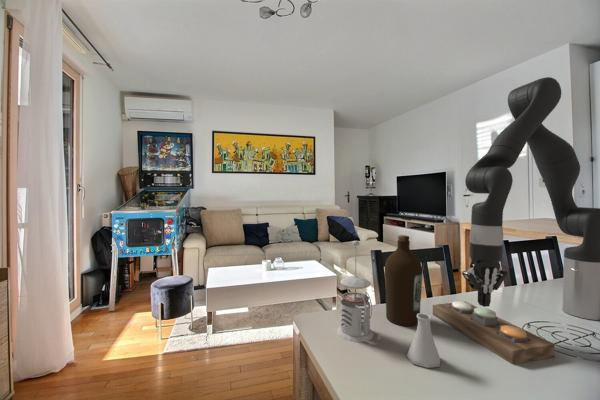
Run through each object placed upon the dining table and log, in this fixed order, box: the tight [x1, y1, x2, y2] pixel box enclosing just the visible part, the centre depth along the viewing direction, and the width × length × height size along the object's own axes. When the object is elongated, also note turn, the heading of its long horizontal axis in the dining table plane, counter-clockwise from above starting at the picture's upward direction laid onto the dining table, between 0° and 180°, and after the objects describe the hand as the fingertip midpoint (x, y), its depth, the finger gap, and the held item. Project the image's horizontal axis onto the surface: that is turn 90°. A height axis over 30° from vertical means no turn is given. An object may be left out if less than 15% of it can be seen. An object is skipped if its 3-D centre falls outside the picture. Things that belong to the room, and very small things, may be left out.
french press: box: [336, 240, 374, 343], centre depth 76 cm, size 10×12×25 cm
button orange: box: [499, 325, 528, 343], centre depth 69 cm, size 5×5×4 cm
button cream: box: [451, 300, 473, 314], centre depth 84 cm, size 5×5×4 cm
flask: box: [406, 312, 441, 369], centre depth 64 cm, size 7×7×10 cm
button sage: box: [472, 307, 498, 327], centre depth 77 cm, size 5×5×4 cm
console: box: [432, 301, 556, 365], centre depth 77 cm, size 12×26×3 cm, turn 13°
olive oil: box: [384, 234, 424, 327], centre depth 84 cm, size 11×11×25 cm
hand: (483, 305), depth 76 cm, fingers closed
